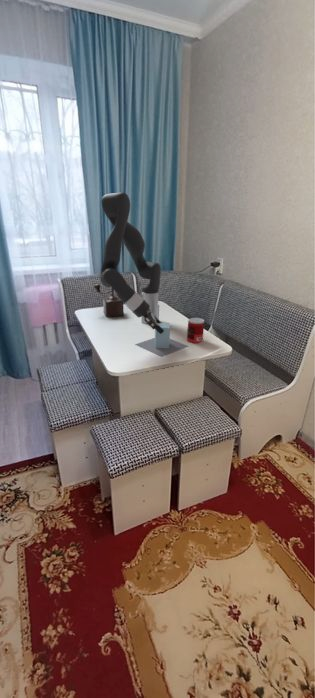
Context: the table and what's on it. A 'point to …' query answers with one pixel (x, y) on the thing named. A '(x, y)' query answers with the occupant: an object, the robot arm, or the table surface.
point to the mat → (161, 352)
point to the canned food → (195, 330)
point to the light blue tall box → (162, 336)
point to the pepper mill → (111, 303)
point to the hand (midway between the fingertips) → (161, 329)
